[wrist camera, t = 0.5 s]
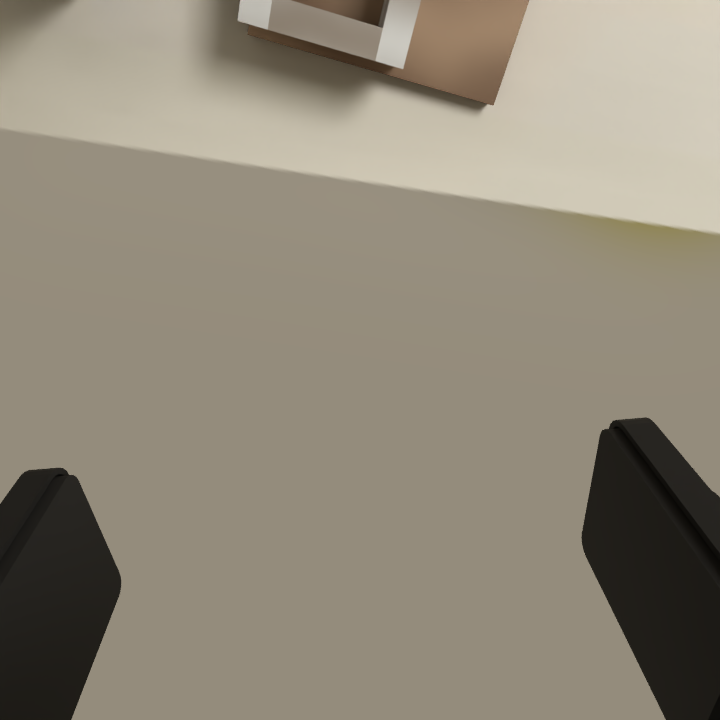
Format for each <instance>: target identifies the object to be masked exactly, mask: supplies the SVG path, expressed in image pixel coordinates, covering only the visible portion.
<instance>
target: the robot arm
mask: <svg viewBox="0 0 720 720" xmlns="http://www.w3.org/2000/svg"><path fill="white" fill-rule="evenodd" d="M582 545H583V549H584V553H585V555H586V558H587V559H588V562H589V564H590V566H591V568H592V570H593V572H594V574H595V576H596V578H597V580H598V582H599V584H600V586H601V588H602V590H603V592H604V594H605V596H606V598H607V600H608V602H609V604H610V606H611V608H612V611H613V613H614V614H615V617H616V619H617V621H618V623H619V625H620V627H621V629H622V631H623V632H624V635H625V637H626V639H627V641H628V643H629V645H630V647H631V649H632V651H633V653H634V655H635V657H636V660H637V662H638V663H639V666H640V668H641V670H642V672H643V674H644V676H645V678H646V680H647V682H648V684H649V686H650V688H651V690H652V692H653V694H654V696H655V698H656V700H657V702H658V704H659V706H660V709H661V711H662V712H663V715H664V717H665V719H666V720H720V497H719V496H718V495H717V494H716V493H714V492H713V491H711V490H710V488H709V487H708V486H707V485H706V484H705V482H703V480H702V479H701V478H700V477H699V475H698V474H697V473H696V472H695V471H694V469H693V468H692V467H691V466H690V465H689V463H688V462H687V461H686V460H685V459H684V457H683V456H682V455H681V454H680V453H679V452H678V450H677V449H676V448H675V447H674V446H673V444H672V443H671V442H670V441H669V440H668V439H667V437H666V436H665V435H664V434H663V433H662V431H661V430H660V429H659V428H658V427H657V425H656V424H655V423H654V422H653V421H652V420H651V419H649V418H635V419H625V420H624V419H623V420H615V421H613V422H612V423H611V424H610V427H609V429H605V430H602V432H601V434H600V438H599V444H598V449H597V455H596V460H595V466H594V471H593V476H592V482H591V487H590V493H589V498H588V503H587V509H586V514H585V520H584V525H583V531H582ZM120 590H121V577H120V574H119V571H118V568H117V566H116V564H115V562H114V560H113V557H112V555H111V553H110V550H109V548H108V546H107V544H106V541H105V539H104V537H103V535H102V532H101V530H100V528H99V526H98V523H97V521H96V519H95V517H94V514H93V512H92V510H91V508H90V505H89V503H88V501H87V498H86V496H85V494H84V492H83V489H82V487H81V485H80V483H79V481H78V479H77V477H75V476H74V475H69V474H68V472H67V471H66V470H65V469H63V468H50V469H38V470H28V471H26V472H24V473H23V474H22V475H21V476H20V477H19V479H18V480H17V482H16V483H15V484H14V486H13V487H12V488H11V490H10V491H9V493H8V494H7V496H6V497H5V498H4V500H3V501H2V502H1V504H0V720H71V719H72V716H73V714H74V711H75V708H76V706H77V703H78V701H79V698H80V695H81V693H82V690H83V688H84V685H85V683H86V680H87V677H88V675H89V672H90V670H91V667H92V664H93V662H94V659H95V657H96V654H97V651H98V649H99V646H100V644H101V641H102V638H103V636H104V633H105V631H106V628H107V626H108V623H109V620H110V618H111V615H112V613H113V610H114V608H115V605H116V602H117V600H118V597H119V594H120Z"/></svg>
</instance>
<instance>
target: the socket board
mask: <svg viewBox="0 0 720 720" xmlns="http://www.w3.org/2000/svg"><path fill="white" fill-rule="evenodd" d="M528 2H529V0H240V5H239V13H238V21H240V22H243V23H246V24H249V27H248V35H251V36H255V37H258V38H262V39H265V40H268V41H272V42H275V43H279V44H282V45H286V46H289V47H293V48H296V49H300V50H303V51H307V52H310V53H313V54H317V55H320V56H324V57H327V58H331V59H334V60H338V61H341V62H345V63H348V64H352V65H355V66H359V67H362V68H365V69H369V70H372V71H376V72H379V73H383V74H386V75H390V76H393V77H397V78H400V79H404V80H407V81H410V82H414V83H417V84H421V85H424V86H428V87H431V88H435V89H438V90H442V91H445V92H449V93H452V94H455V95H459V96H462V97H466V98H469V99H473V100H476V101H480V102H483V103H487V104H490V105H494V102H495V99H496V96H497V93H498V91H499V88H500V85H501V82H502V79H503V76H504V73H505V70H506V67H507V64H508V61H509V58H510V55H511V52H512V49H513V47H514V44H515V41H516V38H517V35H518V32H519V29H520V26H521V23H522V20H523V17H524V14H525V11H526V8H527V5H528Z"/></svg>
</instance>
